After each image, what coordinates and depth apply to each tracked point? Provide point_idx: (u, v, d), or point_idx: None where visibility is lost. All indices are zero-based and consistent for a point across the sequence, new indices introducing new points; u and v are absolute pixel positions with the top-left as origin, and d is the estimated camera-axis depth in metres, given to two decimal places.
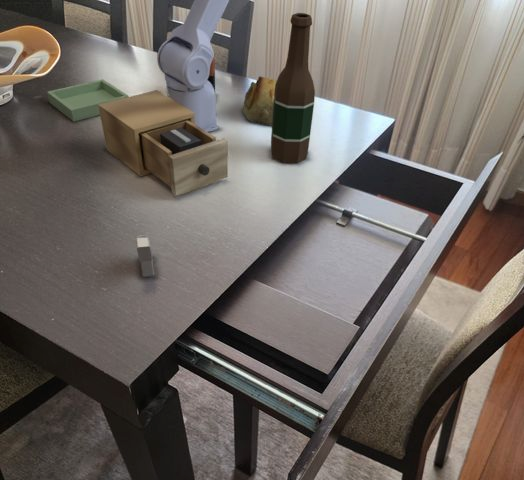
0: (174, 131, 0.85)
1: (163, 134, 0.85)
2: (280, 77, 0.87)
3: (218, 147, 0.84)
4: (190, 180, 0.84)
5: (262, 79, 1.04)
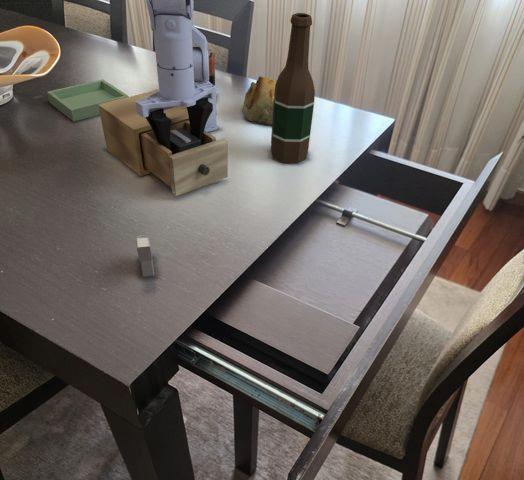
0: (174, 131, 0.85)
1: None
2: (280, 77, 0.87)
3: (218, 147, 0.84)
4: (190, 180, 0.84)
5: (262, 79, 1.04)
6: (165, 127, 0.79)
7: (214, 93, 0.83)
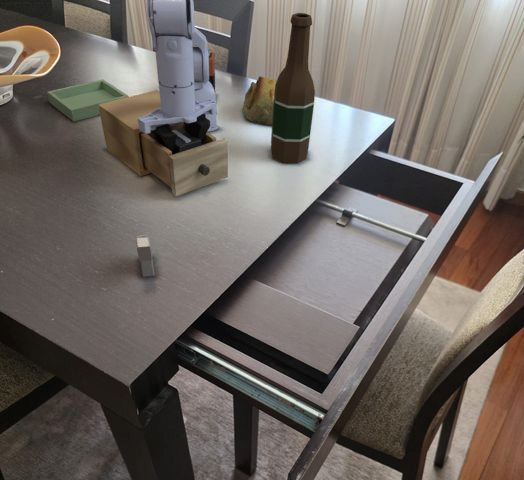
0: (174, 131, 0.85)
1: None
2: (280, 77, 0.87)
3: (218, 147, 0.84)
4: (190, 180, 0.84)
5: (262, 79, 1.04)
6: (171, 141, 0.81)
7: (214, 109, 0.85)
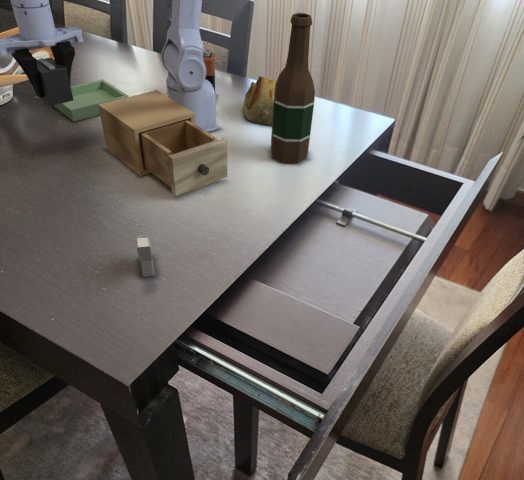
0: (41, 59, 0.86)
1: None
2: (280, 77, 0.87)
3: (218, 147, 0.84)
4: (190, 180, 0.84)
5: (262, 79, 1.04)
6: (31, 66, 0.82)
7: (80, 36, 0.85)
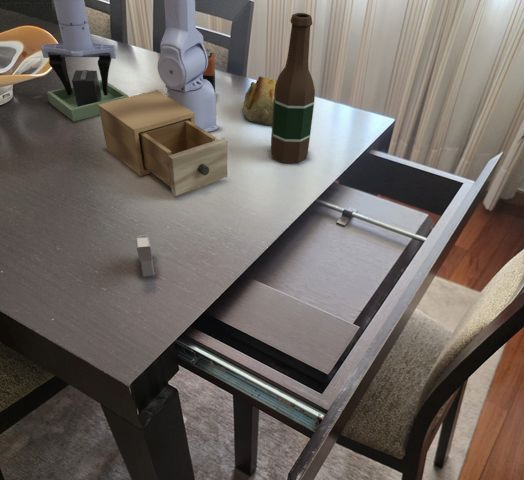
0: (84, 71, 1.05)
1: (76, 71, 1.06)
2: (280, 77, 0.87)
3: (218, 147, 0.84)
4: (190, 180, 0.84)
5: (262, 79, 1.04)
6: (57, 69, 1.01)
7: (112, 54, 1.01)
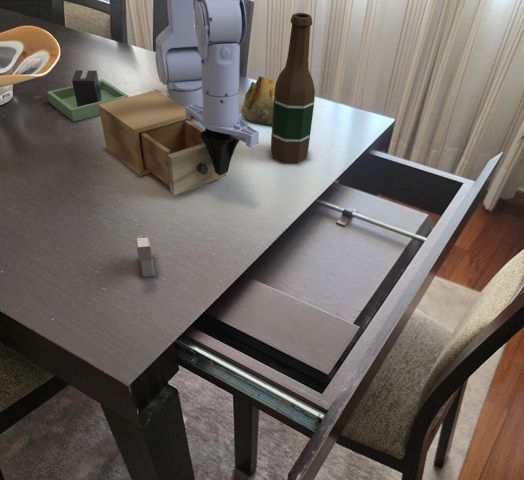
0: (84, 71, 1.05)
1: (76, 71, 1.06)
2: (280, 77, 0.87)
3: None
4: (189, 179, 0.84)
5: (262, 79, 1.04)
6: None
7: None
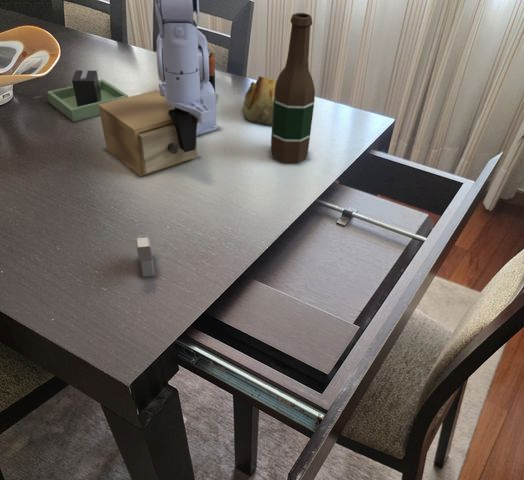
0: (84, 71, 1.05)
1: (76, 71, 1.06)
2: (280, 77, 0.87)
3: None
4: (160, 158, 0.89)
5: (262, 79, 1.04)
6: None
7: None
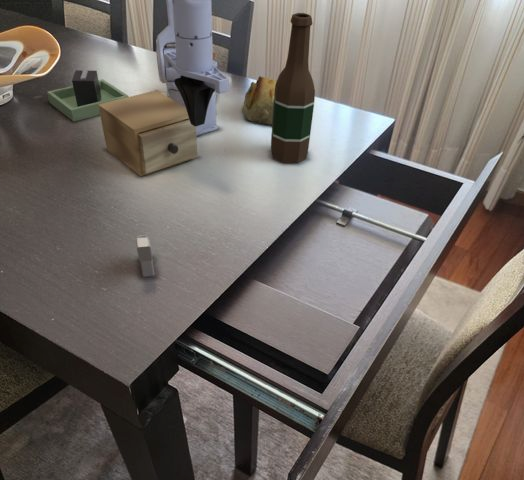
0: (84, 71, 1.05)
1: (76, 71, 1.06)
2: (280, 77, 0.87)
3: (186, 127, 0.88)
4: (160, 158, 0.89)
5: (262, 79, 1.04)
6: None
7: None
